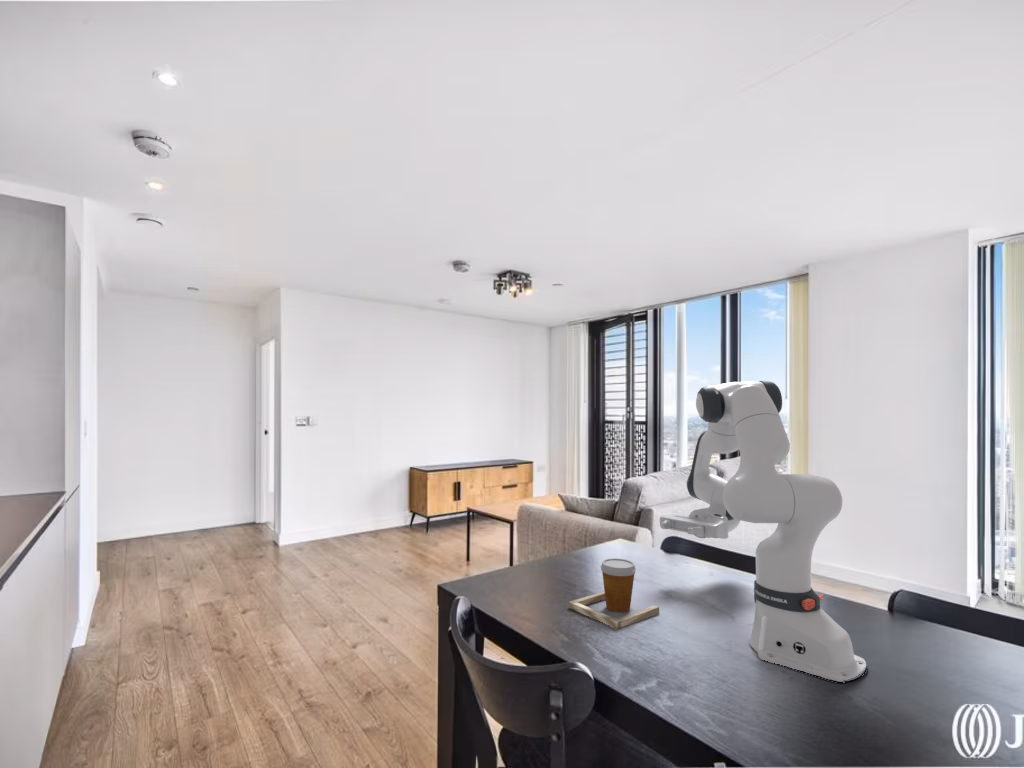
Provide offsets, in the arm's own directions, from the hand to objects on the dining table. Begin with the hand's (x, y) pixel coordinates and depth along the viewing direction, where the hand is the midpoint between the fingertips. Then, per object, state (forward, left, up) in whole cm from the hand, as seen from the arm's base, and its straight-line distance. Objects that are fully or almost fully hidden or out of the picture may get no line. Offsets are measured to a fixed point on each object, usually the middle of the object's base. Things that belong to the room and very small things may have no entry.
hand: (675, 528), depth 157 cm
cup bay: (0, +27, -18) cm, 32 cm away
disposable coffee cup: (+1, +25, -18) cm, 31 cm away
